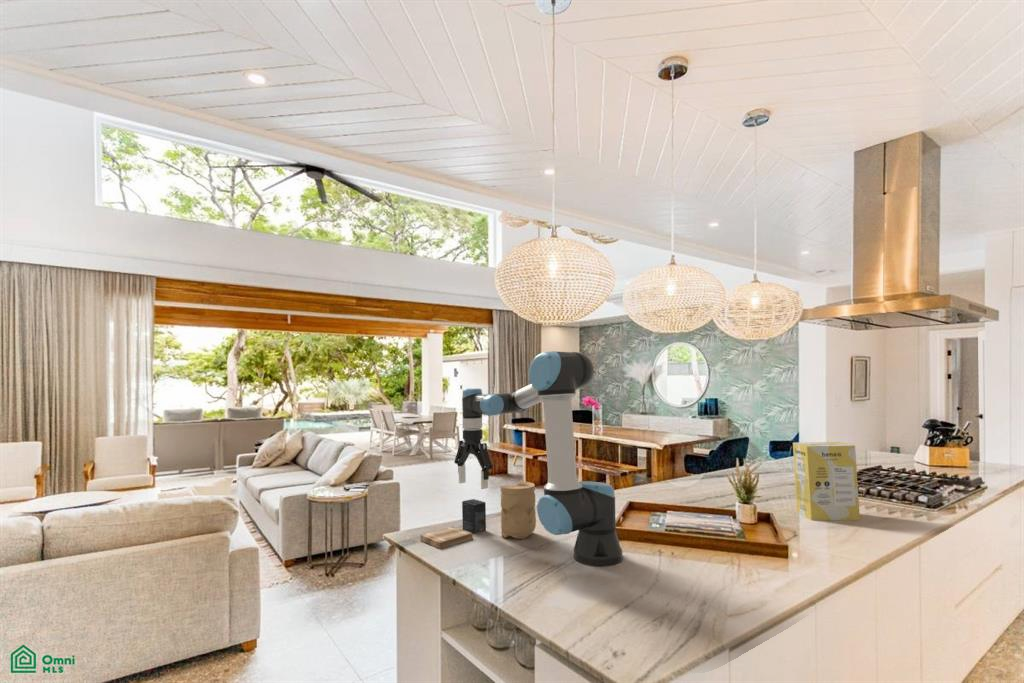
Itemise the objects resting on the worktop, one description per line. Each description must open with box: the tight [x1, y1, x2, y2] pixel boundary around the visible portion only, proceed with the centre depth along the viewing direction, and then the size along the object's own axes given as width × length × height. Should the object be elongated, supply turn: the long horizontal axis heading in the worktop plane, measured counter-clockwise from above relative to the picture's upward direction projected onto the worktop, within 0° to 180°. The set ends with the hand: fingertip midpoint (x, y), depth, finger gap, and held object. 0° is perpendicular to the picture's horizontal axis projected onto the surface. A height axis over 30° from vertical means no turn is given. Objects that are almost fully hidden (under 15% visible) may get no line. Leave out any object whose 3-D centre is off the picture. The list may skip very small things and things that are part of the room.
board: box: [420, 526, 474, 550], centre depth 178 cm, size 12×14×2 cm
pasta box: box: [792, 441, 861, 521], centre depth 199 cm, size 18×10×28 cm, turn 88°
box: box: [461, 498, 487, 534], centre depth 190 cm, size 8×6×11 cm
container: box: [500, 481, 537, 540], centre depth 182 cm, size 13×13×18 cm
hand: (473, 485), depth 190 cm, fingers open, 13 cm apart
